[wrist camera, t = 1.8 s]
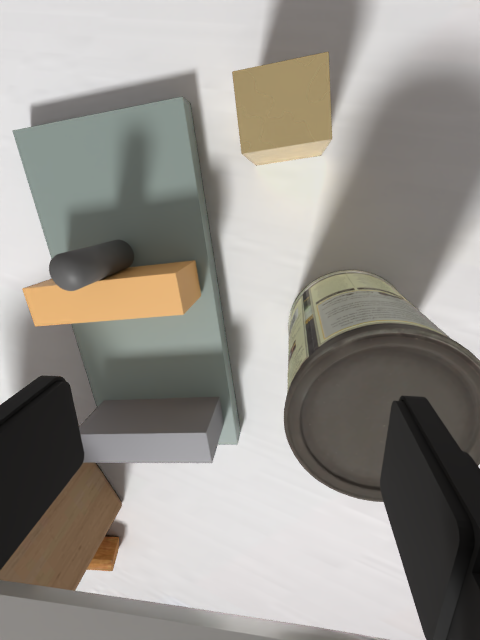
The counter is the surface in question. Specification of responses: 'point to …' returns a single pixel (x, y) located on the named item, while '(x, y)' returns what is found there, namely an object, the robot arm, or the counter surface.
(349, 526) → the counter surface
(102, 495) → the wooden block
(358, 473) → the coffee can
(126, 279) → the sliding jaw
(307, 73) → the brass block
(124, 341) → the vise
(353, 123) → the counter surface
